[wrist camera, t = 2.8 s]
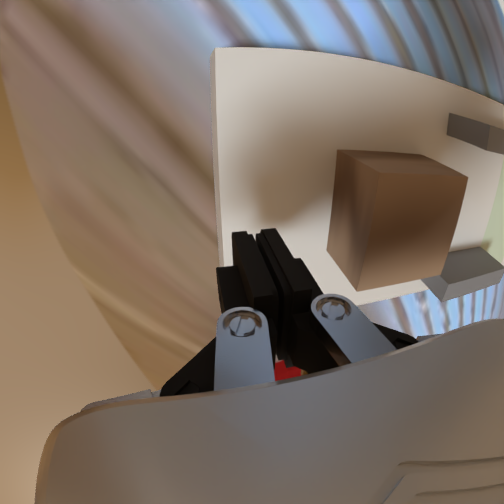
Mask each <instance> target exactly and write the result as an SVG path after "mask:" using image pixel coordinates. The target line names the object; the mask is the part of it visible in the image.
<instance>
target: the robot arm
mask: <svg viewBox="0 0 504 504" xmlns="http://www.w3.org/2000/svg"><path fill="white" fill-rule="evenodd" d="M232 256H233V266H226V267H217V268H216V273H217V284H218V293H219V301H220V307H221V312H222V315H221V316H220V317H219V318H218V322H217V333H216V337H215V338H214V339H213V340H212V341H211V342H210V343H209V344H208V345H207V346H206V347H204V348H203V349H202V350H201V351H200V352H199V353H198V354H197V355H196V356H195V357H194V358H193V359H191V360H190V361H189V362H188V363H187V364H186V365H185V366H184V367H183V368H182V369H180V370H179V371H178V372H177V373H176V374H175V375H174V376H173V377H172V378H171V379H169V380H168V381H167V382H166V383H165V385H164V386H163V387H162V389H161V390H158V391H155V392H151V390H150V389H148V390H145V391H140V392H137V393H132V394H128V395H124V396H120V397H116V398H111V399H107V400H102V401H98V402H93V403H90V404H88V405H86V406H85V407H84V408H83V409H82V410H81V411H80V412H78V413H76V414H74V415H72V416H70V417H68V418H66V419H64V420H63V421H61V422H60V423H59V424H58V425H56V426H55V428H54V429H53V430H52V431H51V433H50V435H49V437H48V438H47V440H46V443H45V446H44V449H43V452H42V456H41V460H40V464H39V469H38V475H37V483H36V493H35V504H504V319H488V320H482V321H479V322H475V323H471V324H469V325H466V326H463V327H460V328H457V329H454V330H452V331H449V332H446V333H444V334H435V335H426V336H417V339H415V338H414V337H412V336H410V335H408V334H405V333H402V332H399V331H396V330H393V329H390V328H387V327H384V326H381V325H378V324H375V323H372V322H371V321H370V320H369V319H368V318H367V317H366V316H365V315H364V314H363V312H362V311H361V310H360V309H359V308H358V307H357V306H356V305H355V304H354V303H353V302H352V301H351V300H349V299H348V298H346V297H344V296H342V295H338V294H323V292H322V290H321V289H320V287H319V286H318V284H317V282H316V281H315V279H314V278H313V276H312V274H311V273H310V271H309V270H308V268H307V267H306V265H305V263H304V262H303V260H302V259H301V258H294V257H293V255H292V254H291V252H290V251H289V249H288V247H287V246H286V244H285V242H284V241H283V239H282V237H281V236H280V234H279V233H278V231H277V229H276V228H270V229H261V231H260V233H256V237H255V239H254V237H253V234H248V233H247V231H239V232H232ZM276 355H277V358H278V360H284V363H285V366H286V368H289V367H294V366H295V367H297V368H299V369H301V375H302V376H297V377H293V378H288V379H283V380H278V381H275V377H274V370H275V360H276Z"/></svg>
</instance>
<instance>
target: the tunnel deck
mask: <svg viewBox="0 0 504 504" xmlns="http://www.w3.org/2000/svg"><path fill="white" fill-rule="evenodd" d="M210 91H211V122H212V146H213V167H214V186H215V203H216V219H217V234H218V248H219V261H220V267H226V266H233V256H232V232H239V231H247V233H248V234H253V237H254V239H255V237H256V233H260V231H261V229H270V228H276V229H277V231H278V233H279V234H280V236H281V237H282V239H283V241H284V242H285V244H286V246H287V247H288V249H289V251H290V252H291V254H292V255H293V257H294V258H301V259H302V260H303V262H304V263H305V265H306V267H307V268H308V270H309V271H310V273H311V274H312V276H313V278H314V279H315V281H316V282H317V284H318V286H319V287H320V289H321V290H322V292H323V294H338V295H342V296H344V297H346V298H348V299H349V300H351V301H352V302H353V303H354V304H355V305H356V306H357V305H362V304H367V303H372V302H376V301H381V300H386V299H390V298H394V297H399V296H403V295H407V294H412V293H416V292H420V291H424V290H428V289H430V290H431V291H432V292H433V294H434V295H435V296H436V297H437V298H438V299H439V300H440V301H441V302H444V301H447V300H450V299H453V298H457V297H460V296H463V295H466V294H469V293H472V292H475V291H478V290H481V289H483V288H486V287H489V286H492V285H495V284H497V283H499V282H500V280H501V278H502V276H503V273H504V105H503V104H501V103H499V102H497V101H495V100H492V99H490V98H488V97H486V96H483V95H481V94H478V93H476V92H474V91H471V90H469V89H466V88H463V87H461V86H458V85H455V84H453V83H450V82H447V81H444V80H441V79H438V78H435V77H432V76H429V75H426V74H422V73H419V72H415V71H412V70H408V69H405V68H401V67H397V66H393V65H389V64H384V63H380V62H375V61H370V60H365V59H360V58H355V57H349V56H343V55H337V54H330V53H322V52H314V51H304V50H293V49H278V48H251V47H231V48H215V49H214V51H213V52H212V54H211V56H210ZM337 149H338V150H366V151H384V152H398V153H410V154H421V155H424V156H426V157H429V158H431V159H433V160H435V161H437V162H439V163H441V164H443V165H446V166H448V167H450V168H452V169H454V170H456V171H458V172H460V173H462V174H463V175H465V176H467V177H468V182H467V186H466V191H465V195H464V199H463V203H462V207H461V211H460V215H459V219H458V222H457V226H456V229H455V233H454V236H453V239H452V243H451V246H450V249H449V252H448V255H447V258H446V261H445V264H444V267H443V269H442V272H441V275H437V276H433V277H428V278H423V279H419V280H414V281H410V282H405V283H400V284H395V285H390V286H385V287H380V288H375V289H369V290H364V291H359V292H356V290H355V289H354V287H353V286H352V285H351V283H350V282H349V281H348V279H347V278H346V276H345V275H344V274H343V272H342V271H341V270H340V268H339V267H338V265H337V264H336V263H335V261H334V260H333V259H332V257H331V256H330V255H329V253H328V252H327V251H326V249H327V241H328V233H329V225H330V217H331V208H332V199H333V189H334V179H335V168H336V156H337Z"/></svg>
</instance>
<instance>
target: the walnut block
mask: <svg viewBox="0 0 504 504" xmlns="http://www.w3.org/2000/svg"><path fill="white" fill-rule="evenodd" d="M467 182H468V177H467V176H465V175H463V174H462V173H460V172H458V171H456V170H454V169H452V168H450V167H448V166H446V165H443V164H441V163H439V162H437V161H435V160H433V159H431V158H429V157H426V156H424V155H421V154H410V153H398V152H384V151H366V150H338V149H337V156H336V168H335V179H334V189H333V199H332V208H331V217H330V225H329V233H328V241H327V249H326V251H327V252H328V253H329V255H330V256H331V257H332V259H333V260H334V261H335V263H336V264H337V265H338V267H339V268H340V270H341V271H342V272H343V274H344V275H345V276H346V278H347V279H348V281H349V282H350V283H351V285H352V286H353V287H354V289H355V290H356V292H359V291H364V290H369V289H375V288H380V287H385V286H390V285H395V284H400V283H405V282H410V281H414V280H419V279H423V278H428V277H433V276H437V275H441V272H442V269H443V267H444V264H445V261H446V258H447V255H448V252H449V249H450V246H451V243H452V239H453V236H454V233H455V229H456V226H457V222H458V219H459V215H460V211H461V207H462V203H463V199H464V195H465V191H466V186H467Z"/></svg>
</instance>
